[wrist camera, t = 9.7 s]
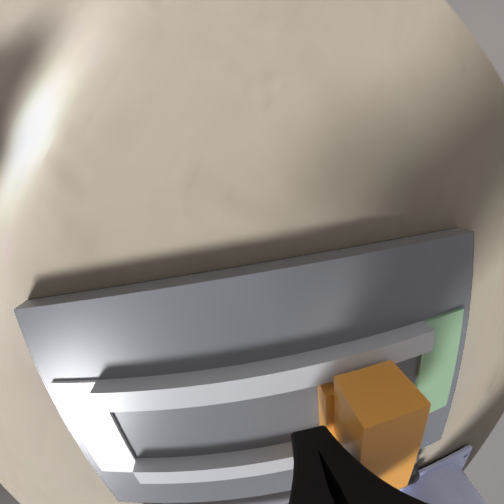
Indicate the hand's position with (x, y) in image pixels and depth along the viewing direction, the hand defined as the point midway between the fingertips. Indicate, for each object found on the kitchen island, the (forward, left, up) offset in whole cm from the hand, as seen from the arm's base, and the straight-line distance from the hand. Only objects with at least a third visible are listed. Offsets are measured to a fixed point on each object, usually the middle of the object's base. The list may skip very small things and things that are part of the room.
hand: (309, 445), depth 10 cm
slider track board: (0, +1, -3) cm, 4 cm away
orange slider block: (0, -2, -2) cm, 3 cm away
